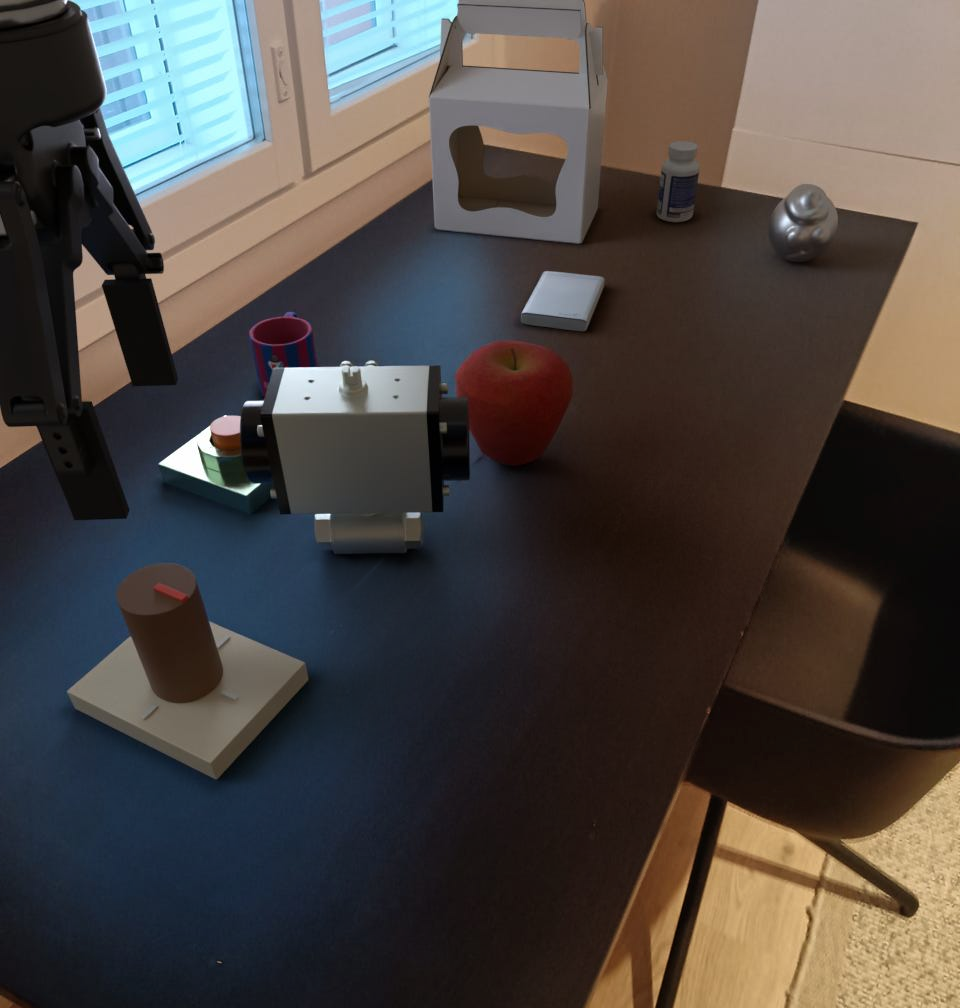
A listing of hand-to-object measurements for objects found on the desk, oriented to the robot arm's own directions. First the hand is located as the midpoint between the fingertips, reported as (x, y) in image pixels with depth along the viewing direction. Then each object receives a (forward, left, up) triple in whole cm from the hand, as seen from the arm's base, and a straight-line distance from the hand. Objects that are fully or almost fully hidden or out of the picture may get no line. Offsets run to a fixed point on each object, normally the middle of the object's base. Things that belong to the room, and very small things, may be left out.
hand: (131, 443), depth 54 cm
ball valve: (-1, +22, -24) cm, 33 cm away
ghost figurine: (+16, +100, -24) cm, 104 cm away
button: (-19, +25, -20) cm, 37 cm away
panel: (-3, 0, -24) cm, 24 cm away
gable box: (-24, +95, -24) cm, 101 cm away
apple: (+4, +40, -24) cm, 47 cm away
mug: (-25, +42, -24) cm, 55 cm away
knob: (-3, 0, -22) cm, 22 cm away
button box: (-19, +25, -24) cm, 40 cm away
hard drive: (-6, +73, -24) cm, 77 cm away
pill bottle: (-4, +107, -24) cm, 110 cm away
